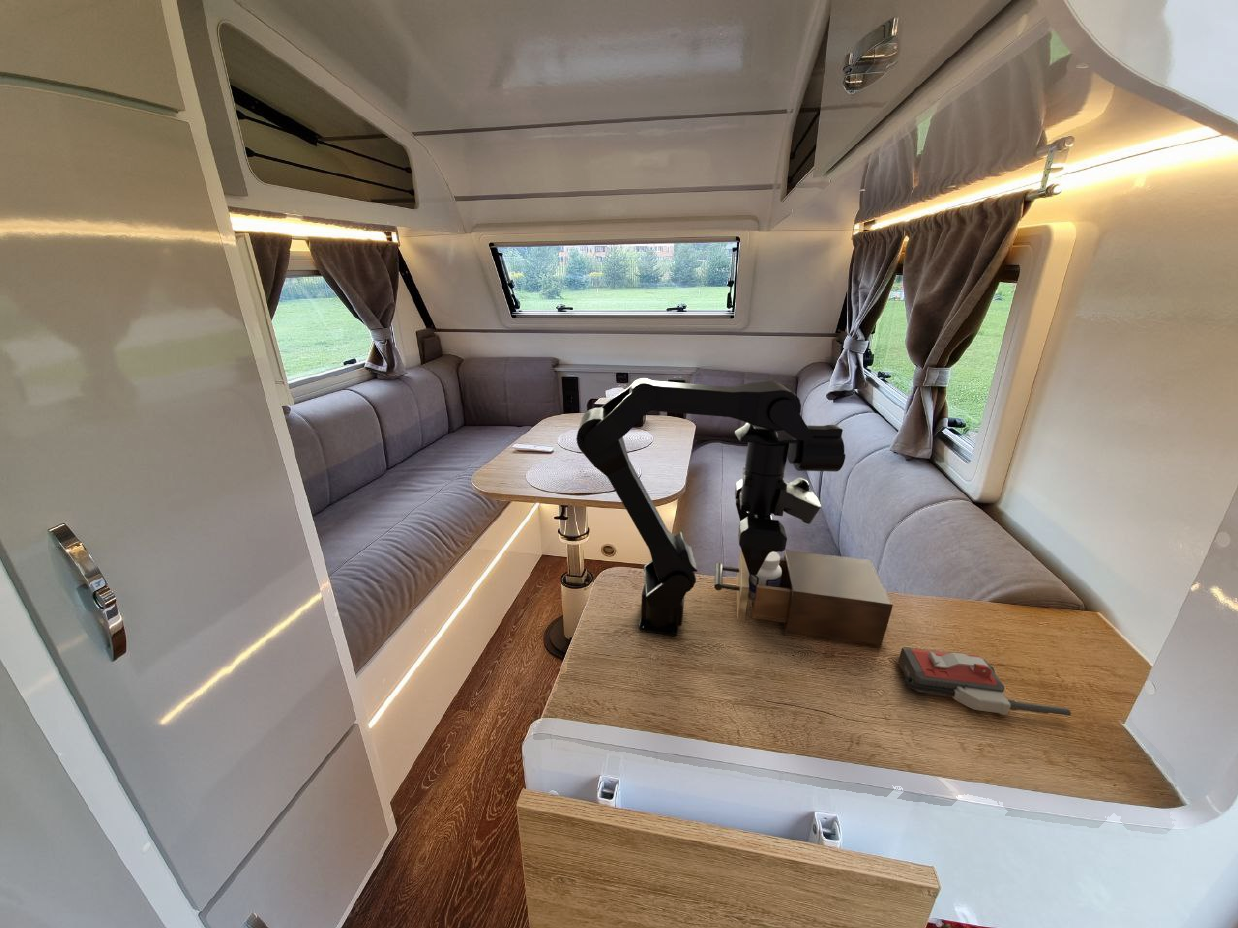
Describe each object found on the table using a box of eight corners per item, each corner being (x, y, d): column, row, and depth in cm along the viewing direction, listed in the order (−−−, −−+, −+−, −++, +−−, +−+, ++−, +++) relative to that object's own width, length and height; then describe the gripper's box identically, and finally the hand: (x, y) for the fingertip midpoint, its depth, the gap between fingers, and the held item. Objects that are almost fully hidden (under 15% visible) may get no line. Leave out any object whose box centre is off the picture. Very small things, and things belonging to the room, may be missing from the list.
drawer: (711, 615, 81) (715, 582, 78) (713, 577, 91) (716, 546, 89) (821, 632, 77) (829, 598, 75) (810, 590, 88) (816, 559, 85)
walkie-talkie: (910, 704, 66) (1072, 726, 63) (918, 680, 64) (1084, 702, 61) (887, 657, 74) (1030, 675, 71) (894, 635, 72) (1040, 652, 69)
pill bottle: (778, 593, 85) (785, 550, 82) (775, 610, 81) (782, 566, 77) (748, 585, 87) (754, 544, 84) (743, 602, 83) (749, 559, 79)
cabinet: (785, 633, 78) (793, 591, 75) (778, 588, 90) (784, 549, 87) (880, 648, 76) (893, 604, 72) (860, 599, 87) (870, 559, 84)
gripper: (836, 501, 60) (814, 601, 66) (810, 452, 77) (794, 535, 83) (746, 492, 62) (733, 590, 68) (740, 446, 79) (729, 527, 85)
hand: (750, 558), depth 76 cm, fingers open, 9 cm apart
